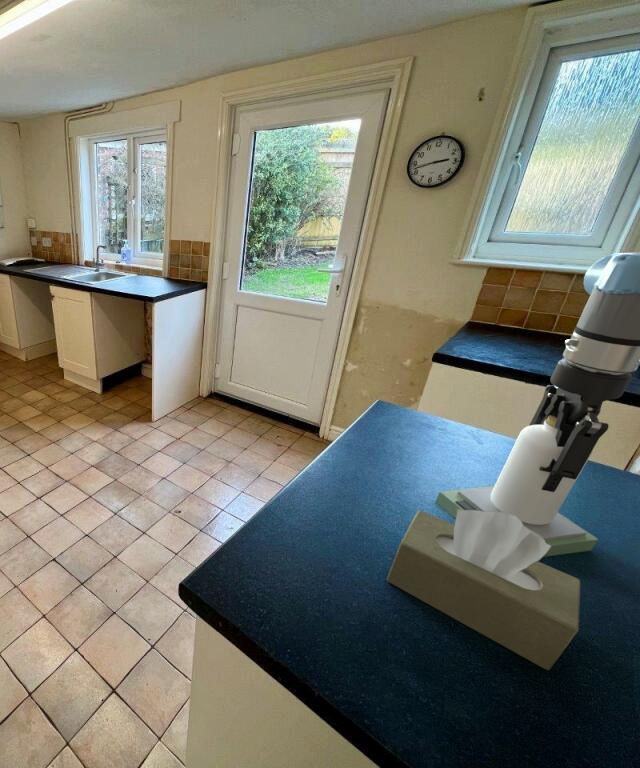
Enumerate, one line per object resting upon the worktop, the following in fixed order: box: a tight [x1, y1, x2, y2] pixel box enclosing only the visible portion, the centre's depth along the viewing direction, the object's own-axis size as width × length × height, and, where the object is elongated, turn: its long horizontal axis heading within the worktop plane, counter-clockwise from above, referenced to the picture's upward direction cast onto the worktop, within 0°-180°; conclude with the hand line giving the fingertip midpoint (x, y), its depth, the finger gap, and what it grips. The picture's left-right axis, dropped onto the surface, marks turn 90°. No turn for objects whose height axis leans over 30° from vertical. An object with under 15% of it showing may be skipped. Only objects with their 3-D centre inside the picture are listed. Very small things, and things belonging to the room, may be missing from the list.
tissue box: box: [386, 508, 582, 671], centre depth 56 cm, size 19×10×16 cm, turn 44°
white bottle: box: [491, 415, 594, 525], centre depth 68 cm, size 8×8×18 cm
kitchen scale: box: [434, 485, 599, 558], centre depth 72 cm, size 16×14×3 cm
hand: (528, 491), depth 70 cm, fingers open, 5 cm apart
